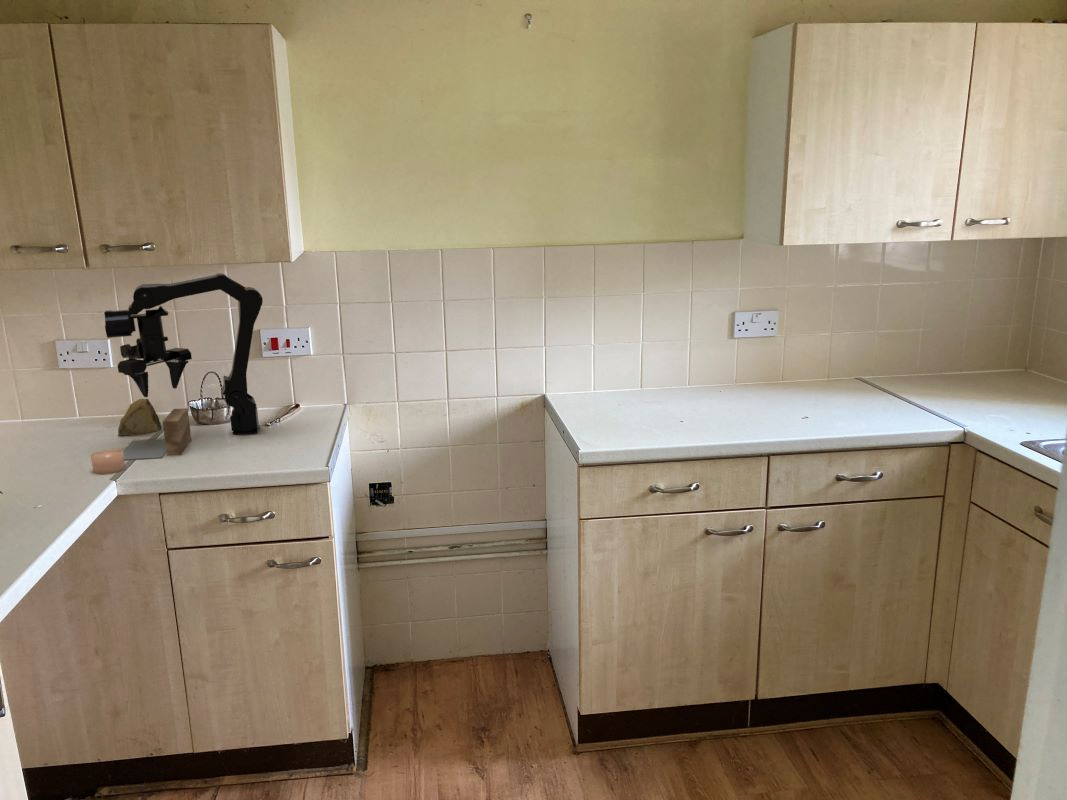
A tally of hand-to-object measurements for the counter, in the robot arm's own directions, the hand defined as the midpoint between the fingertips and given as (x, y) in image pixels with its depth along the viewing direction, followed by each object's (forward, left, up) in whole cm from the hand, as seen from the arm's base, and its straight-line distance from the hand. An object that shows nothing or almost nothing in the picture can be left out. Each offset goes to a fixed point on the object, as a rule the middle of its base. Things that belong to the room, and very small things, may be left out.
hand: (160, 392), depth 220 cm
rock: (+9, -9, -13) cm, 19 cm away
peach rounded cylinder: (+8, +22, -13) cm, 27 cm away
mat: (+3, +8, -13) cm, 15 cm away
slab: (-5, +8, -13) cm, 16 cm away
